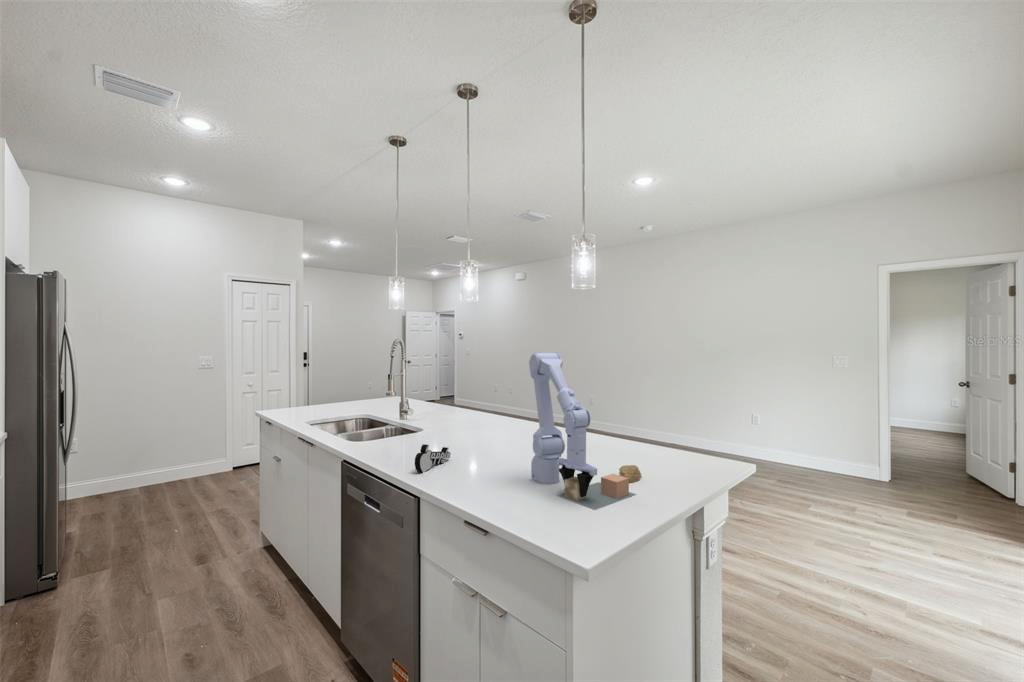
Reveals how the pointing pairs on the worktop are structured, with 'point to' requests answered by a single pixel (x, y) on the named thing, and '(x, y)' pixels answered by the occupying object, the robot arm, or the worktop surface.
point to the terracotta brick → (615, 486)
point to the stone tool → (630, 473)
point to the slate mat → (596, 498)
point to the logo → (430, 458)
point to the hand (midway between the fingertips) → (576, 493)
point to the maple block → (573, 489)
